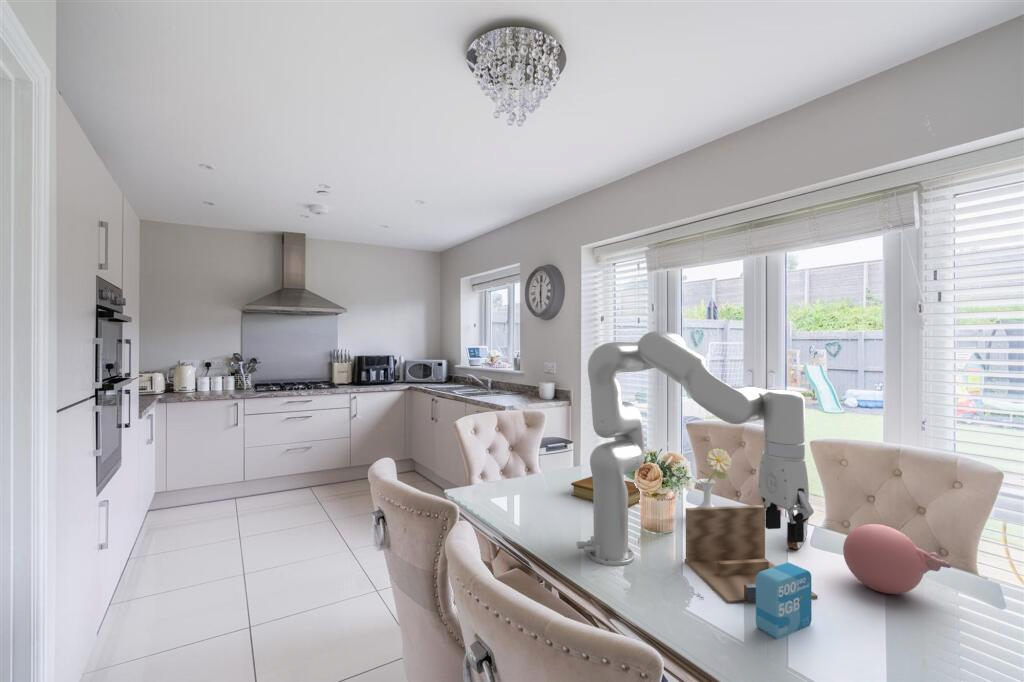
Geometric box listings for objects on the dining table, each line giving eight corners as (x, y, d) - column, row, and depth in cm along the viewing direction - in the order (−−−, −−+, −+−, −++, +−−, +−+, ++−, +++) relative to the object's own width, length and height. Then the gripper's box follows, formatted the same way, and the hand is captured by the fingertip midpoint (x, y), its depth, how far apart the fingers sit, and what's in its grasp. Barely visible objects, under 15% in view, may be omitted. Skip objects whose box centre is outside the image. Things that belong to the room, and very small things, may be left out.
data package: (775, 642, 94) (775, 582, 94) (755, 630, 98) (755, 572, 98) (812, 626, 99) (812, 569, 99) (791, 615, 103) (791, 560, 103)
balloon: (952, 624, 100) (952, 551, 100) (839, 591, 113) (839, 527, 113) (950, 595, 112) (950, 530, 112) (847, 568, 125) (847, 510, 125)
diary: (648, 500, 180) (648, 485, 180) (621, 512, 168) (621, 496, 168) (599, 487, 197) (599, 473, 197) (571, 497, 184) (571, 482, 184)
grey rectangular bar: (748, 600, 107) (748, 587, 107) (744, 597, 109) (744, 584, 109) (800, 597, 109) (800, 584, 109) (796, 594, 110) (796, 581, 110)
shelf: (728, 605, 107) (728, 539, 107) (684, 562, 128) (684, 507, 128) (817, 599, 110) (817, 535, 110) (760, 558, 130) (760, 504, 131)
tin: (798, 535, 146) (797, 508, 146) (809, 538, 144) (809, 511, 144) (785, 551, 135) (785, 522, 135) (798, 554, 133) (798, 525, 133)
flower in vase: (688, 525, 154) (688, 449, 154) (689, 514, 165) (689, 442, 165) (732, 531, 149) (732, 453, 149) (730, 519, 160) (730, 445, 160)
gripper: (742, 441, 107) (742, 520, 107) (795, 460, 90) (796, 554, 90) (773, 440, 108) (773, 519, 108) (832, 459, 91) (832, 552, 91)
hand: (783, 534), depth 99 cm, fingers open, 6 cm apart
